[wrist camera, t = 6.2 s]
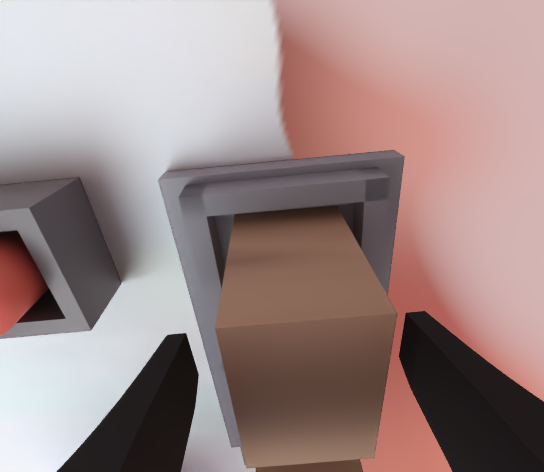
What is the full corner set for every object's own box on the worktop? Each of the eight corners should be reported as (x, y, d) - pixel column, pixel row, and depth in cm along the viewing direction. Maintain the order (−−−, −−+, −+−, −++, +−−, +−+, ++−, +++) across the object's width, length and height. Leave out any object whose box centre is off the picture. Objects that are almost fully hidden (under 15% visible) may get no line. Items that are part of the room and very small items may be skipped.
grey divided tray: (366, 419, 21) (376, 455, 19) (232, 431, 21) (230, 468, 19) (393, 150, 12) (419, 165, 10) (165, 171, 12) (147, 191, 10)
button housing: (121, 283, 15) (91, 330, 12) (13, 293, 15) (-41, 342, 12) (78, 177, 12) (28, 208, 9) (-52, 189, 12) (-137, 223, 10)
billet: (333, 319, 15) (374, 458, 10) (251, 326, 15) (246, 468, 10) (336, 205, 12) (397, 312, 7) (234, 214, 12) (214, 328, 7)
